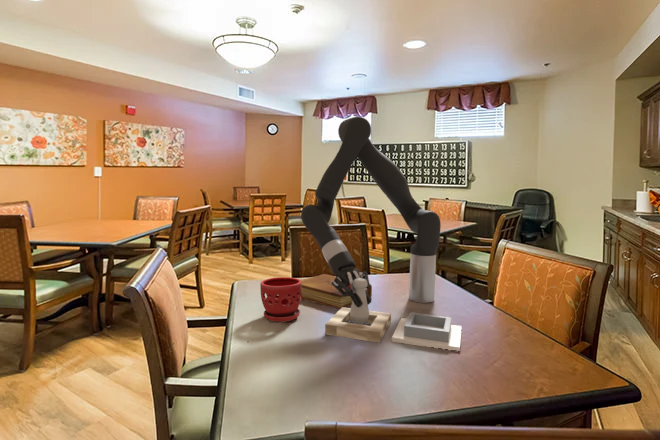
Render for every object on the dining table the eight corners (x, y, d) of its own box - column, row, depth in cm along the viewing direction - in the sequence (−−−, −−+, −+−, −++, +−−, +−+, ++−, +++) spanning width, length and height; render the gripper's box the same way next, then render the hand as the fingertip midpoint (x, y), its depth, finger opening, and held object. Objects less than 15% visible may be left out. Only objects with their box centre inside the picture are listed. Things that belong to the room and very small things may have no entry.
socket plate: (401, 321, 127) (401, 308, 127) (461, 329, 121) (462, 316, 121) (391, 341, 112) (392, 326, 112) (459, 351, 106) (460, 336, 106)
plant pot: (308, 314, 133) (309, 278, 132) (288, 327, 122) (288, 288, 120) (275, 308, 139) (275, 273, 138) (252, 320, 127) (251, 283, 126)
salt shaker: (367, 325, 118) (368, 282, 117) (348, 324, 119) (349, 281, 118) (370, 318, 124) (370, 277, 122) (351, 317, 125) (352, 276, 123)
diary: (371, 298, 153) (372, 283, 152) (340, 311, 139) (341, 294, 138) (325, 286, 167) (325, 273, 167) (293, 296, 153) (293, 282, 152)
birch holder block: (342, 316, 132) (342, 307, 131) (390, 322, 126) (391, 313, 126) (325, 334, 117) (325, 324, 116) (379, 342, 111) (379, 332, 111)
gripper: (326, 253, 120) (354, 303, 113) (360, 247, 129) (387, 293, 122) (315, 267, 125) (341, 316, 117) (348, 260, 134) (374, 306, 126)
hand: (364, 304), depth 119 cm, fingers closed on salt shaker, 3 cm apart
